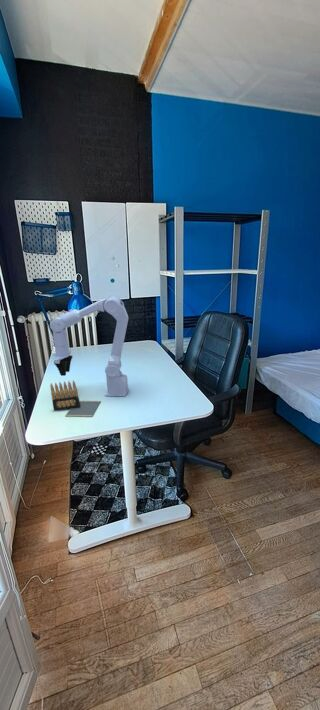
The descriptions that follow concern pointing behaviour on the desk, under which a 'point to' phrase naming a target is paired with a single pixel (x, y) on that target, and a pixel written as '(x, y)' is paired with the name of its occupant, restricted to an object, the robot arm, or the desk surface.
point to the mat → (84, 409)
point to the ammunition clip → (65, 397)
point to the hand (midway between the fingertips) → (65, 373)
